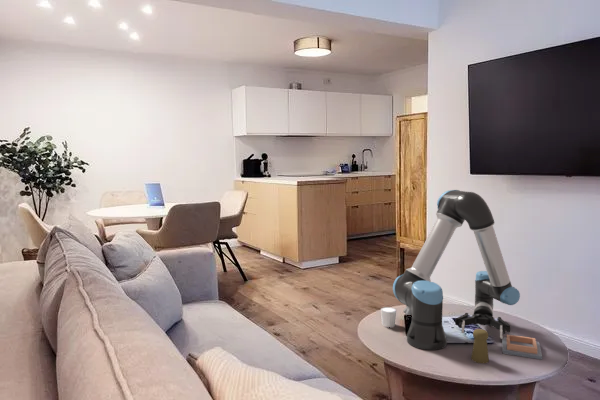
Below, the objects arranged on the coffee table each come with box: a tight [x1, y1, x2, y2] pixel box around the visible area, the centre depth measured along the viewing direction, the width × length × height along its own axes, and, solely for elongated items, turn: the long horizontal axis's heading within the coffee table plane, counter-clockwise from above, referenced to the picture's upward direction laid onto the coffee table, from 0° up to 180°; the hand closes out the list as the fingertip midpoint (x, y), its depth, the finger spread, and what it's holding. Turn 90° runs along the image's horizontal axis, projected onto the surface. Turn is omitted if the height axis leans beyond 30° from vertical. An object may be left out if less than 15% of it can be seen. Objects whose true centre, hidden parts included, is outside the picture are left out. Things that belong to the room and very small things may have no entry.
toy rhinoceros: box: [403, 305, 412, 316], centre depth 201 cm, size 7×12×8 cm, turn 89°
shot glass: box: [380, 306, 397, 328], centre depth 192 cm, size 7×7×7 cm
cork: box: [470, 328, 490, 364], centre depth 158 cm, size 6×6×11 cm
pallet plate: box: [501, 334, 543, 360], centre depth 167 cm, size 13×13×3 cm
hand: (481, 332), depth 167 cm, fingers open, 13 cm apart
